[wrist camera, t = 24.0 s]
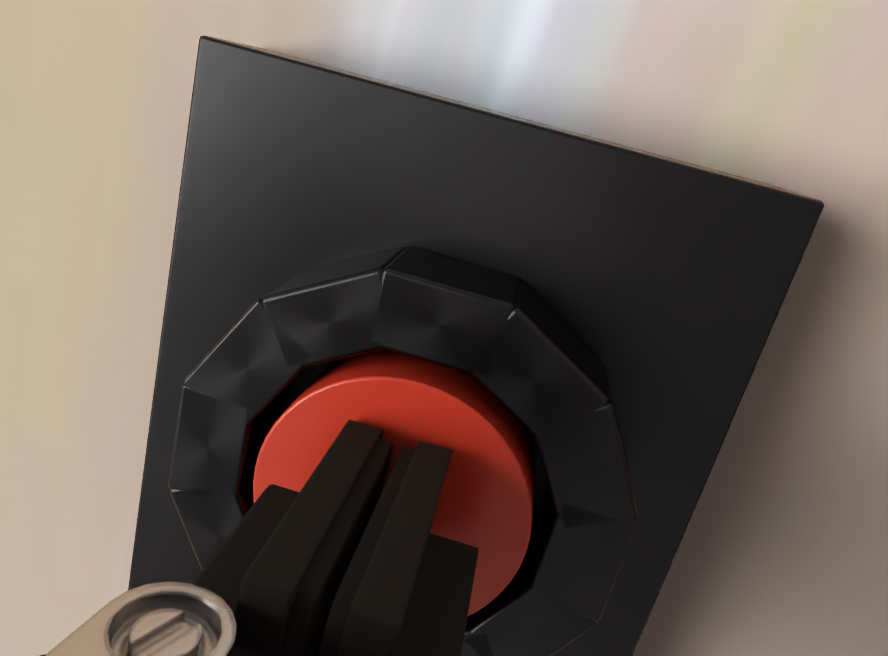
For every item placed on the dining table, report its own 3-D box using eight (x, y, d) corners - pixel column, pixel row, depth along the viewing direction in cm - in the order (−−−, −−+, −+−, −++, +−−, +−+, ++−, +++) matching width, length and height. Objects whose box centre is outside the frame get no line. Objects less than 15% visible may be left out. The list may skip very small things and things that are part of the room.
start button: (315, 309, 12) (277, 340, 10) (568, 383, 12) (570, 427, 10) (271, 525, 13) (231, 582, 12) (496, 595, 13) (487, 665, 11)
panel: (254, 46, 13) (133, 19, 10) (782, 188, 13) (879, 220, 9) (174, 565, 17) (65, 693, 13) (577, 695, 16) (584, 870, 13)
